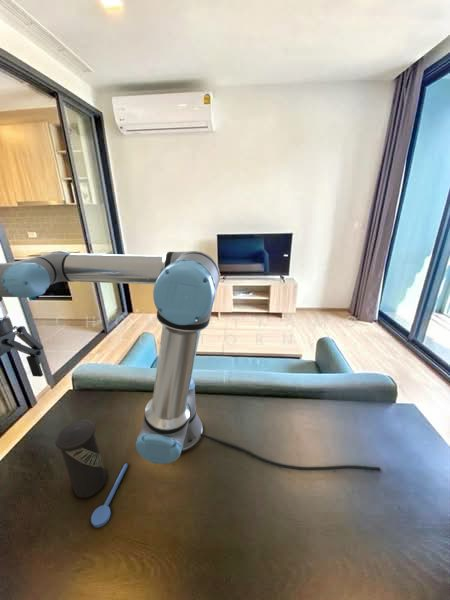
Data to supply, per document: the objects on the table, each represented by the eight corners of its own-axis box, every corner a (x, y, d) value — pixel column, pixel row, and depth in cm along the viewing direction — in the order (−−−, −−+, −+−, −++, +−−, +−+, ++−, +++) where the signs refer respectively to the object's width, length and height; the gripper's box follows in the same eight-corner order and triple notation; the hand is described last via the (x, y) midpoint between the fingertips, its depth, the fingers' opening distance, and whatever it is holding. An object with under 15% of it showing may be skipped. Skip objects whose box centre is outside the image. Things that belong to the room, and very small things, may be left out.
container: (93, 503, 66) (77, 448, 59) (64, 495, 68) (45, 442, 61) (113, 471, 74) (101, 419, 67) (87, 465, 76) (72, 414, 69)
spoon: (120, 464, 76) (119, 461, 76) (134, 466, 76) (133, 463, 75) (87, 526, 61) (86, 523, 61) (104, 528, 61) (103, 525, 60)
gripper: (21, 301, 71) (42, 363, 79) (-94, 346, 48) (-48, 429, 56) (44, 301, 70) (63, 364, 78) (-61, 348, 47) (-19, 432, 55)
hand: (17, 391), depth 67 cm, fingers open, 13 cm apart
